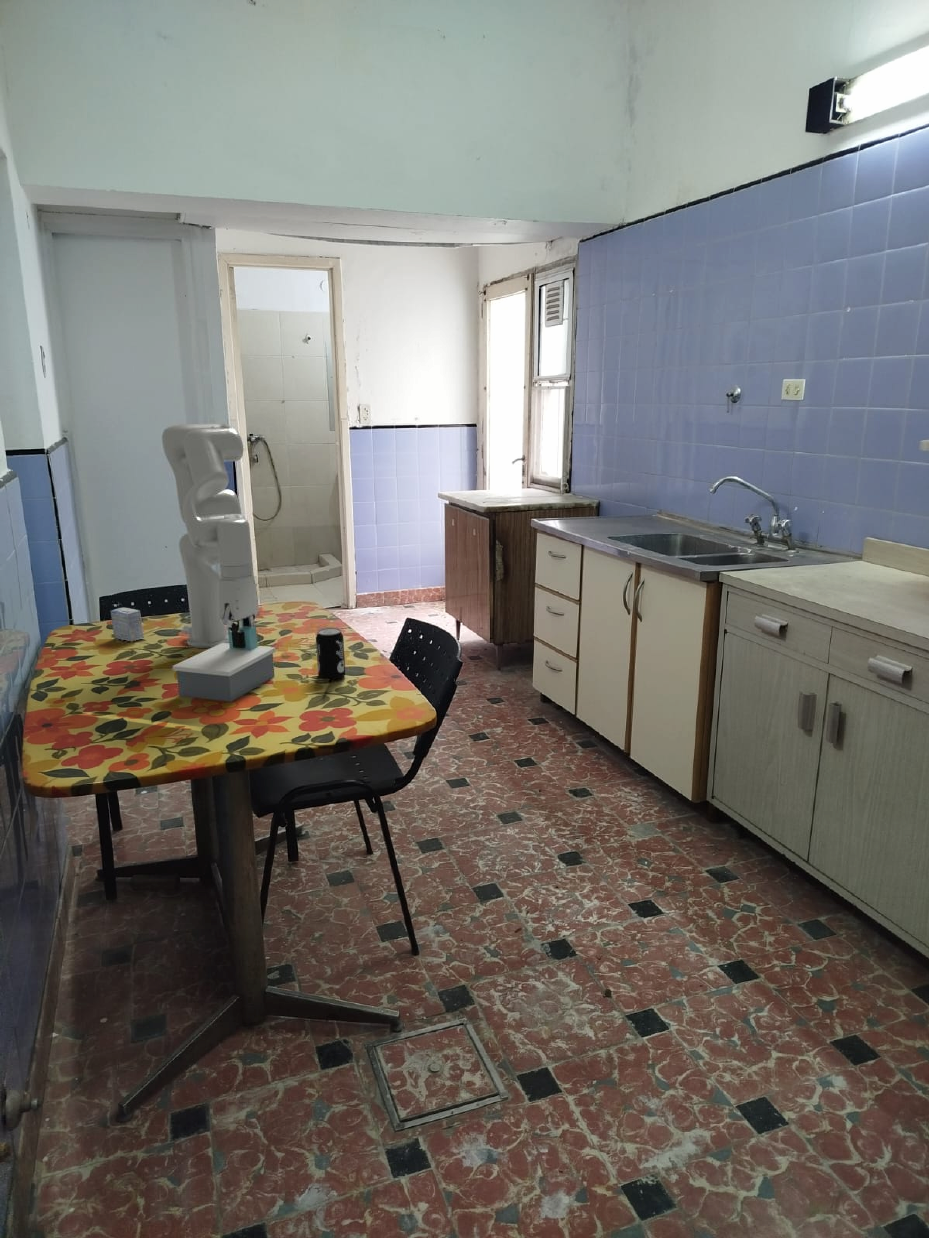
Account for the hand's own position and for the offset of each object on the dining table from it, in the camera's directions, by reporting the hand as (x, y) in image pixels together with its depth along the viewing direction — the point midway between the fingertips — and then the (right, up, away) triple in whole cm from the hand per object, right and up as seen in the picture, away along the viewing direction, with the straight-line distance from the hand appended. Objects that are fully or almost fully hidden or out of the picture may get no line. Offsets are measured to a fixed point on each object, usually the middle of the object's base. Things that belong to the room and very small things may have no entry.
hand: (243, 644), depth 198 cm
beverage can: (+21, -8, +2) cm, 23 cm away
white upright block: (-43, 0, +38) cm, 58 cm away
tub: (-2, -10, -5) cm, 11 cm away
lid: (-2, -4, -6) cm, 8 cm away
